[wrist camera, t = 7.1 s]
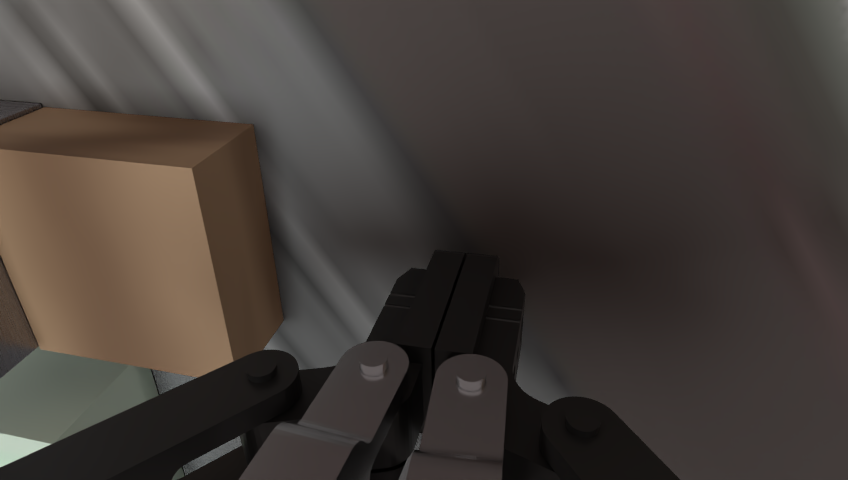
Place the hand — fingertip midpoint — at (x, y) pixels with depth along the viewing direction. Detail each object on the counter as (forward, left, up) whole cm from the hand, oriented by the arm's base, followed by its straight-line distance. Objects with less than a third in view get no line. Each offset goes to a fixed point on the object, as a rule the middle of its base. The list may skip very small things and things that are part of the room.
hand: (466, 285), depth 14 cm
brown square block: (+9, 0, -1) cm, 9 cm away
